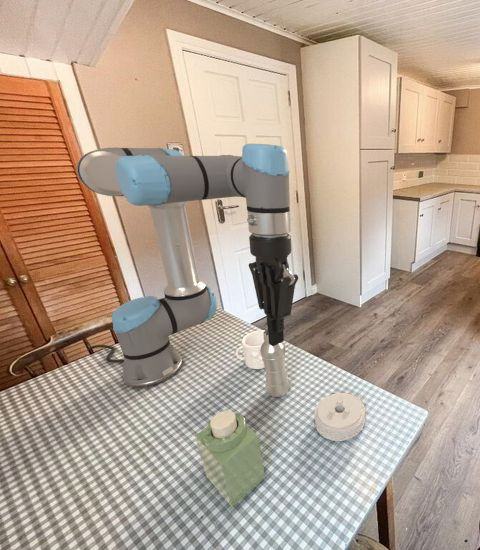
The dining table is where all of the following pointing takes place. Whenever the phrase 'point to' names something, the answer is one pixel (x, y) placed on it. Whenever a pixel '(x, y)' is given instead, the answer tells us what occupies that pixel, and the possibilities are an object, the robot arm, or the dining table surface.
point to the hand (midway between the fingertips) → (276, 342)
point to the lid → (339, 416)
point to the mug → (252, 349)
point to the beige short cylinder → (223, 424)
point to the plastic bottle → (274, 367)
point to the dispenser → (232, 461)
